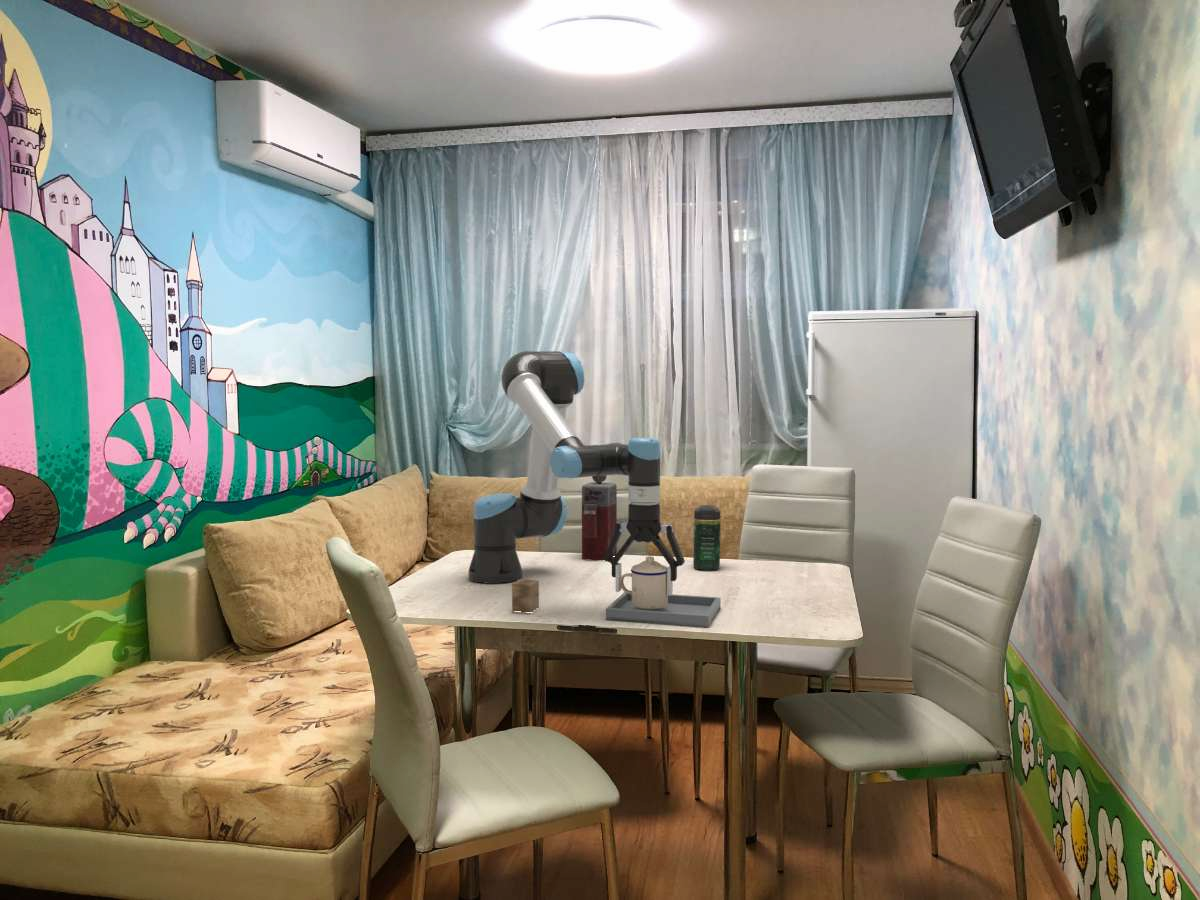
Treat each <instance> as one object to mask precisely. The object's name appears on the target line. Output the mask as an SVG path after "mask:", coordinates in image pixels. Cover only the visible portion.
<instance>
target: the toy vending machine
mask: <svg viewBox="0 0 1200 900" xmlns="http://www.w3.org/2000/svg"><path fill="white" fill-rule="evenodd" d="M607 476H608V475H605V476H591V478H592V480H593V481H591V482H588V483H585V484H582V486H581V560H582V559H591V560H590V561H598V560H604V557H605V555H606V552H607V550H608V548H609V545H610V543H611V540H612V538H613V536H614V533H615V525H616V524H617V523H618V522H617V521H618V520H617V517H618V516H617V512H618V511H617V507H618V506H617V505H618V503H617V502H618V500H617V497H618V496H617V495H618V491H617V489H618V488H617V483H615V482H605V481H606V479H607ZM617 546H618V545H617ZM617 546H616V548H615V550H614V553H613V555H612V557H613V556H615V555H616V554H617V553H618V551H617V549H618V548H617Z"/></svg>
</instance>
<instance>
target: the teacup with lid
mask: <svg viewBox="0 0 1200 900" xmlns="http://www.w3.org/2000/svg"><path fill="white" fill-rule="evenodd" d="M668 567H669V566H666V565H665V564H661V563H660V562H659V561H657V560H655V557H654V556H651V555H650V556H646V557H645V560H643V561H641V562H640V563H637V564H634V565H633V566H631V569H630V572H626V573H623V574H622V576H621V578H620V586H621V591H623V593H624V592H625V593H628V594H632V605H633V606H634V607H637V608H641V609H660V608H664V607H666V606H667V605H668V595H667V568H668ZM626 577H631V590H630V589H628V588H627V587H626V585H625V584H624V580H625V578H626Z"/></svg>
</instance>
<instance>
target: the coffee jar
mask: <svg viewBox="0 0 1200 900" xmlns="http://www.w3.org/2000/svg"><path fill="white" fill-rule="evenodd" d="M693 513H694V515H693V556H692V557H693V561H692V563H693V568H694V569H696V570H698V569H699V570H702V571H711V570H718V569H720V565H721V533H722V532H721V528H722V527H721V510H720V509H719V508H717V507H716V506H715V505H711V504H702V505H700V506H698V507H696V508H695V509H694V512H693Z"/></svg>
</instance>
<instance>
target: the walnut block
mask: <svg viewBox="0 0 1200 900" xmlns="http://www.w3.org/2000/svg"><path fill="white" fill-rule="evenodd" d="M511 583H512V582H511ZM511 608H512V609H511V612H512V611H521V612H533V611H534V610H536V609H537V608H539V609H540V581H539V580H538V579H537V580H536V579H535V580H533V579H522V578H521V579H519V580H517V581H513V583H512V584H511ZM536 611H537V610H536Z"/></svg>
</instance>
